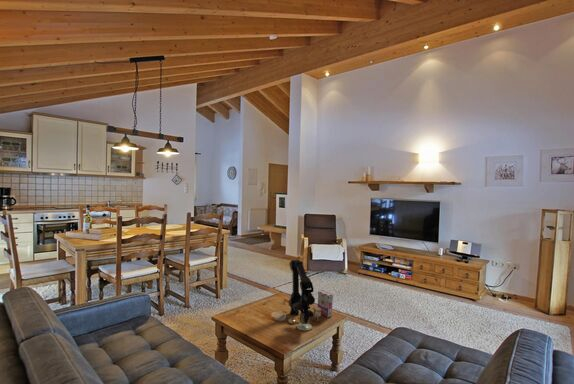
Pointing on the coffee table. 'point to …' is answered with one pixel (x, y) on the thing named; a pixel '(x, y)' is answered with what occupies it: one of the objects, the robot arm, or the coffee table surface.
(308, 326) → the sage dish
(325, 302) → the candy bar box
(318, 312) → the oak block
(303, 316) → the walnut block
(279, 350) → the coffee table surface
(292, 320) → the balance
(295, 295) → the robot arm
